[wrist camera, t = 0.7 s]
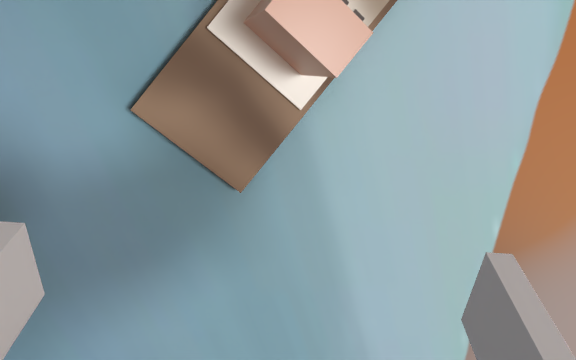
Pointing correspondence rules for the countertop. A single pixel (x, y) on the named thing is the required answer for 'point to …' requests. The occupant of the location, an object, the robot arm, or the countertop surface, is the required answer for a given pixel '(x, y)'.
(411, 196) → the countertop surface
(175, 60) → the board
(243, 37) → the stub
